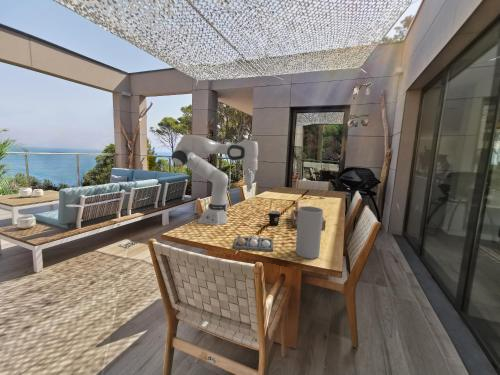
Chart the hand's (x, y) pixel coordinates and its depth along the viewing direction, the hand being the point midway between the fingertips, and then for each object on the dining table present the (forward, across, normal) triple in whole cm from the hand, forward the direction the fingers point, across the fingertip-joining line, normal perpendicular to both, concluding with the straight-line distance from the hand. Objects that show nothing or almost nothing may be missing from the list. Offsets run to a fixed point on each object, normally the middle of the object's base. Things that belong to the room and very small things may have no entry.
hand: (249, 190), depth 133 cm
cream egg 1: (+30, -4, -4) cm, 31 cm away
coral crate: (+31, +40, -42) cm, 66 cm away
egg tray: (+31, -8, -4) cm, 32 cm away
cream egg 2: (+30, -11, -4) cm, 33 cm away
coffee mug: (+31, +32, -15) cm, 47 cm away
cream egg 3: (+30, -11, -11) cm, 34 cm away
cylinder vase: (+31, -14, -34) cm, 48 cm away
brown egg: (+30, -12, +3) cm, 33 cm away
